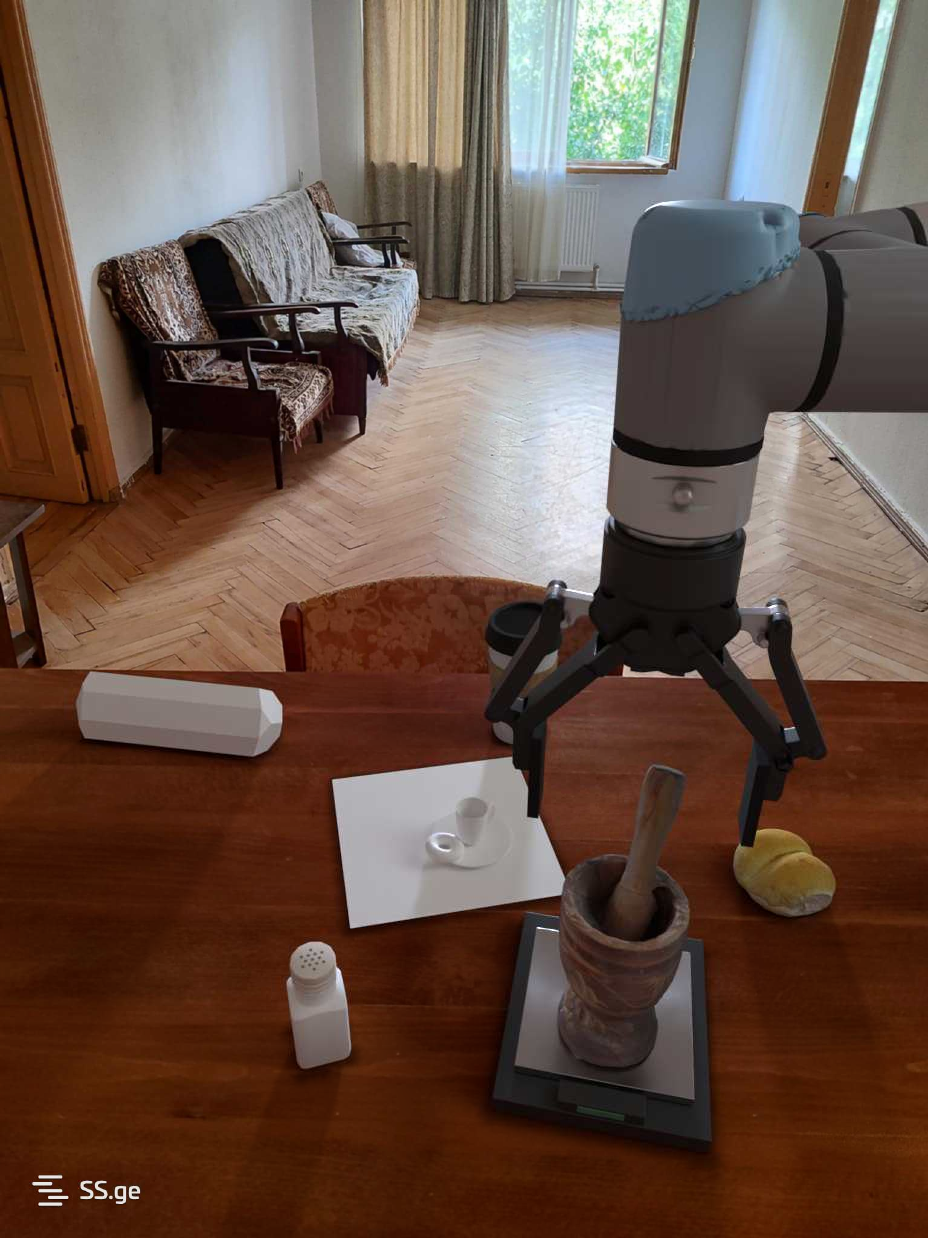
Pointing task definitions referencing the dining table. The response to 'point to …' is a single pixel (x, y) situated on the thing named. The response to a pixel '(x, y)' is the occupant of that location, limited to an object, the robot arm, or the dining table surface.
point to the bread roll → (784, 874)
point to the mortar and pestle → (623, 936)
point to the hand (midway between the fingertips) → (638, 818)
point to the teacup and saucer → (440, 842)
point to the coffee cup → (515, 648)
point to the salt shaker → (318, 1006)
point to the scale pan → (550, 1057)
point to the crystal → (178, 714)
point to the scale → (596, 1103)
